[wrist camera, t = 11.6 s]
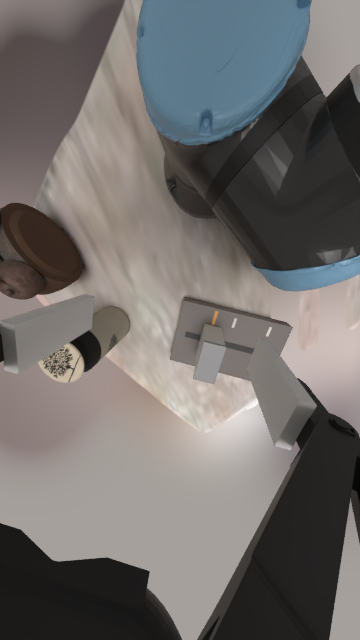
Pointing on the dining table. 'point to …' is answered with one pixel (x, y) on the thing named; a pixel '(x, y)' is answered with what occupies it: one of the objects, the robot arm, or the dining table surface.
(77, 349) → the travel mug
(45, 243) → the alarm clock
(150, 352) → the dining table surface
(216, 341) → the fader
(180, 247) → the dining table surface
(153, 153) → the dining table surface
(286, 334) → the console
